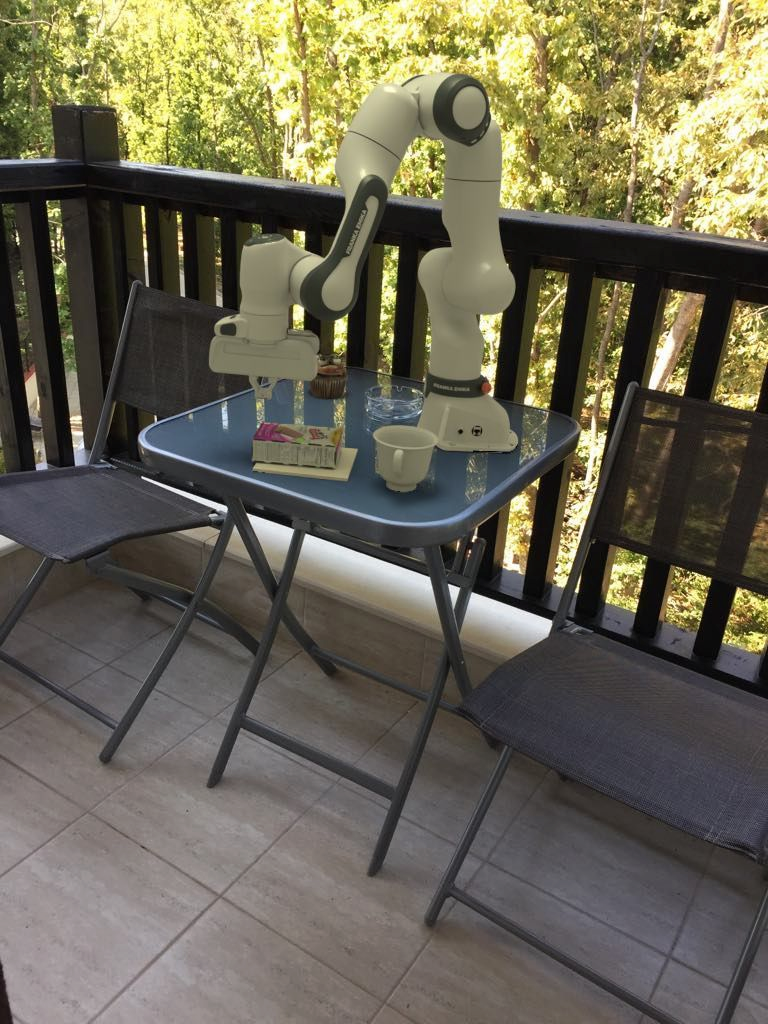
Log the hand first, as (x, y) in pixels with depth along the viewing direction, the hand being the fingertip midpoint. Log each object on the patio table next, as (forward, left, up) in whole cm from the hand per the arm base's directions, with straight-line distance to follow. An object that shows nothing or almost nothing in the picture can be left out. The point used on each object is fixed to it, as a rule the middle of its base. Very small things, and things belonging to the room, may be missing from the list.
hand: (263, 398), depth 165 cm
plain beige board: (-9, 0, -12) cm, 15 cm away
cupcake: (-6, -45, -12) cm, 47 cm away
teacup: (-28, +9, -12) cm, 32 cm away
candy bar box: (+1, 0, -9) cm, 9 cm away
